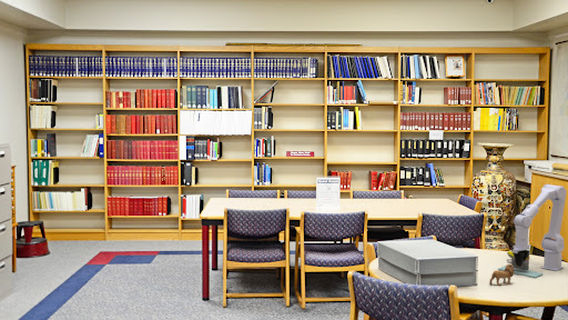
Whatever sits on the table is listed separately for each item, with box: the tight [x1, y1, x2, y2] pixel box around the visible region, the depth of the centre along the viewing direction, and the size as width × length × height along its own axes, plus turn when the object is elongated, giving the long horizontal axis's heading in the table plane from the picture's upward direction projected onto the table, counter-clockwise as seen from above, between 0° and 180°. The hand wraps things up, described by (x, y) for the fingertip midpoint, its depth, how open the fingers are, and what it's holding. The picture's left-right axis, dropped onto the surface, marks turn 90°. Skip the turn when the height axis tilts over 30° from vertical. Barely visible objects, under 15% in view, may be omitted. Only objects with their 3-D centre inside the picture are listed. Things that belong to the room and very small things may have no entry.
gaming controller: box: [506, 247, 531, 261], centre depth 303 cm, size 15×6×10 cm
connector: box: [506, 258, 530, 271], centre depth 277 cm, size 4×10×4 cm, turn 43°
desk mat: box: [497, 265, 544, 279], centre depth 277 cm, size 9×19×1 cm, turn 43°
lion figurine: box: [489, 263, 515, 287], centre depth 257 cm, size 15×5×9 cm, turn 118°
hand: (520, 264), depth 276 cm, fingers closed on connector, 3 cm apart
